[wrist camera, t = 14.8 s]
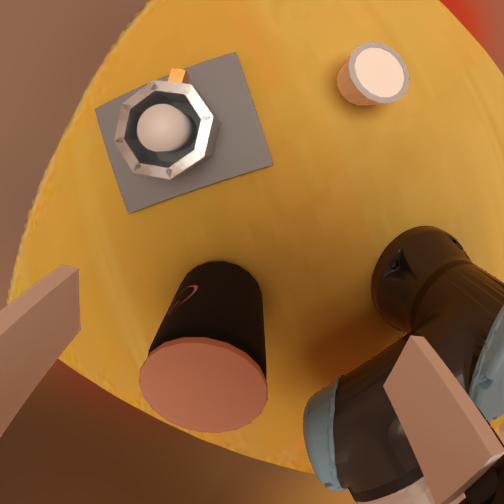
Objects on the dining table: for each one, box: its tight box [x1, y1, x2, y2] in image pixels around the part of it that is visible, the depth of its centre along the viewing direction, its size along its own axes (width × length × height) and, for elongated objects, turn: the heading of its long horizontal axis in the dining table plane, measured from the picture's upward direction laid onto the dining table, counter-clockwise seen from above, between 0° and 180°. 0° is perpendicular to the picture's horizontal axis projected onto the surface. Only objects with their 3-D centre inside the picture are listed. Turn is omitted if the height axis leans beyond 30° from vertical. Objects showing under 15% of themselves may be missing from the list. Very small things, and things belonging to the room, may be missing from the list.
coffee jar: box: [139, 262, 268, 433], centre depth 31 cm, size 11×11×18 cm
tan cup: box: [336, 42, 410, 106], centre depth 28 cm, size 7×7×7 cm
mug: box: [114, 69, 221, 180], centre depth 29 cm, size 10×9×7 cm
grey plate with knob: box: [95, 52, 273, 214], centre depth 29 cm, size 18×14×8 cm
